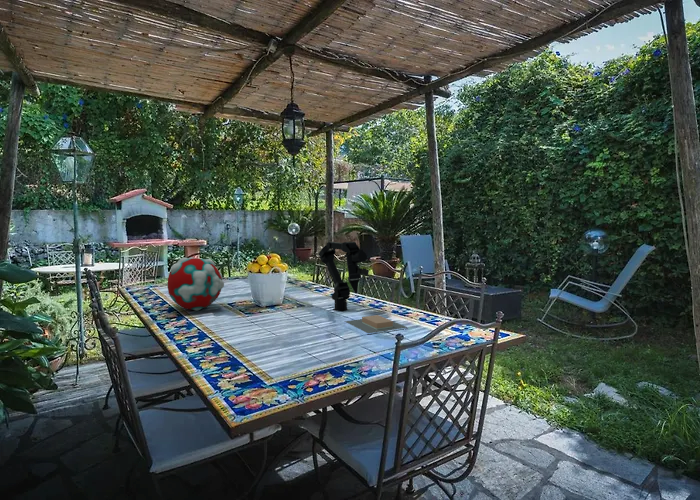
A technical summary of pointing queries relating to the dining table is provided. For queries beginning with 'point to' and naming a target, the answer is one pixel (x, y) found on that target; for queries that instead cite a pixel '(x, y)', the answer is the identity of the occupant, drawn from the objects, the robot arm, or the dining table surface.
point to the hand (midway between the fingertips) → (356, 292)
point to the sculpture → (194, 283)
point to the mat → (369, 329)
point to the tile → (377, 322)
